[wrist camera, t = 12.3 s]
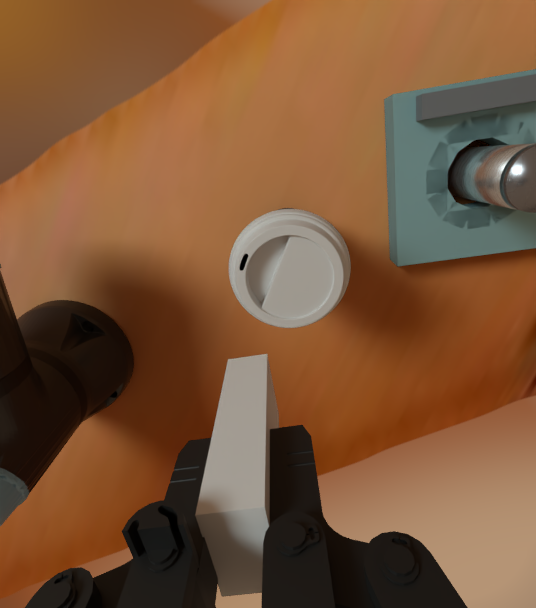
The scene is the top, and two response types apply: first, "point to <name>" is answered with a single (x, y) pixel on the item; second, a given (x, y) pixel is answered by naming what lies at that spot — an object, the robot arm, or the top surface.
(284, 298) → the coffee cup
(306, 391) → the top surface
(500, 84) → the jig
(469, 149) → the metal cylinder
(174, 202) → the top surface
